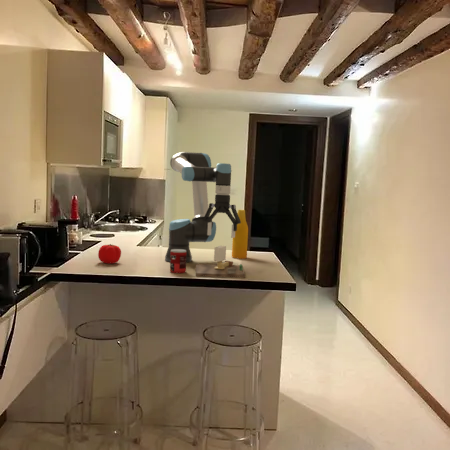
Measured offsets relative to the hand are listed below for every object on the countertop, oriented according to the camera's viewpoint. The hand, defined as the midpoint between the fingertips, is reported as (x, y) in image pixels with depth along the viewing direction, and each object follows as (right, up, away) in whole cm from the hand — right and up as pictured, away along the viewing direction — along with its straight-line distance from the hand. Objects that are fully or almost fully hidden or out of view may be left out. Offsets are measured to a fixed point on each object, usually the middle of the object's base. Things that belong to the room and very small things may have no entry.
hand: (221, 236), depth 238 cm
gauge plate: (-1, -18, +2) cm, 18 cm away
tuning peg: (+1, -16, +5) cm, 17 cm away
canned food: (-22, -18, -2) cm, 28 cm away
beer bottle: (+11, -14, +47) cm, 50 cm away
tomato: (-60, -15, +13) cm, 63 cm away
